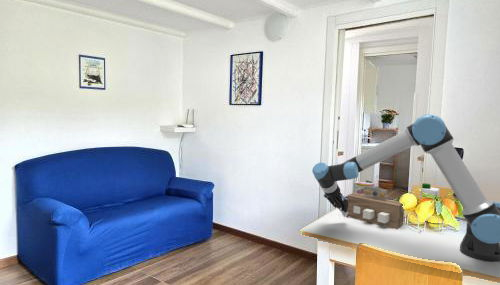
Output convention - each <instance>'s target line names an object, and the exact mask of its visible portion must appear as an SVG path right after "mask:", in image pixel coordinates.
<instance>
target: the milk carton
mask: <svg viewBox="0 0 500 285" xmlns="http://www.w3.org/2000/svg"><path fill="white" fill-rule="evenodd" d="M421 184H422V185H421V189H420V197H419V199H420V198H422V193H423V192H424V193H428V194H433V195H437V196H439V197H440V188H439V187H432V186H431V184H430V183H421Z"/></svg>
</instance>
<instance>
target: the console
mask: <svg viewBox="0 0 500 285" xmlns="http://www.w3.org/2000/svg"><path fill="white" fill-rule="evenodd" d="M387 193H388V189H384V188H381V187H380V188H374V187H369V186H365V192H364V195H363V194H358V193H350V194H348V195H347V197H348V199H347V200H348V205H349V206H348V208H347V211H348V214H347V216H346V217H349V218H352V219H357V220H361V221H364V222H368V223H372V224H374V225H375V224H376V225H380V226H384V227H388V228H391V229H396V230H398V229H399V228H401V227H403V226H404V217H405V216H404V214H405V212H404V211H405V208H404V209H403V207H402V206H403V204H402V203H403V202H402V203H400V202H401V201H398V200H397V201H396V200H391V199H387V196H388V194H387ZM354 205H357V206H361V214H357V213H353V207H354ZM368 208H370V209H374V210H375V218H372V219H366V218H363V210H365V209H368ZM381 212H387V213H390V221H389V222H387V223H382V222H378V214H379V213H381Z"/></svg>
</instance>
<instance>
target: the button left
mask: <svg viewBox="0 0 500 285" xmlns="http://www.w3.org/2000/svg"><path fill="white" fill-rule="evenodd" d="M353 213H357V214H361V206H357V205H354V207H353Z"/></svg>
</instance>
